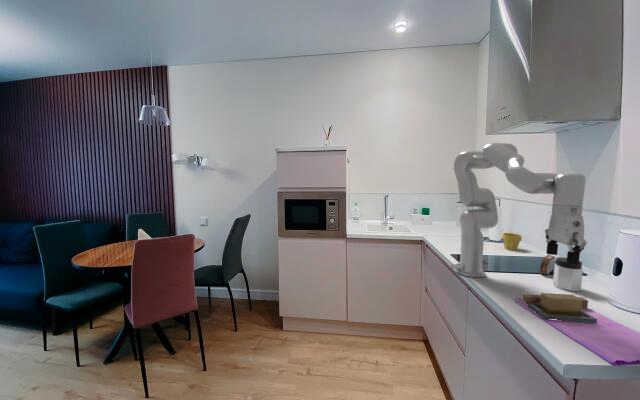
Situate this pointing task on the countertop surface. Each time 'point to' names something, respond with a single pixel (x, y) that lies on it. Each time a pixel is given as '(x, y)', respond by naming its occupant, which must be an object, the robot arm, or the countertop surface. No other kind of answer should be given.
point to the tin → (547, 264)
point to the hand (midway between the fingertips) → (561, 258)
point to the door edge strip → (537, 299)
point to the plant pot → (511, 240)
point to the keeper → (583, 319)
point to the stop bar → (561, 304)
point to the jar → (567, 275)
